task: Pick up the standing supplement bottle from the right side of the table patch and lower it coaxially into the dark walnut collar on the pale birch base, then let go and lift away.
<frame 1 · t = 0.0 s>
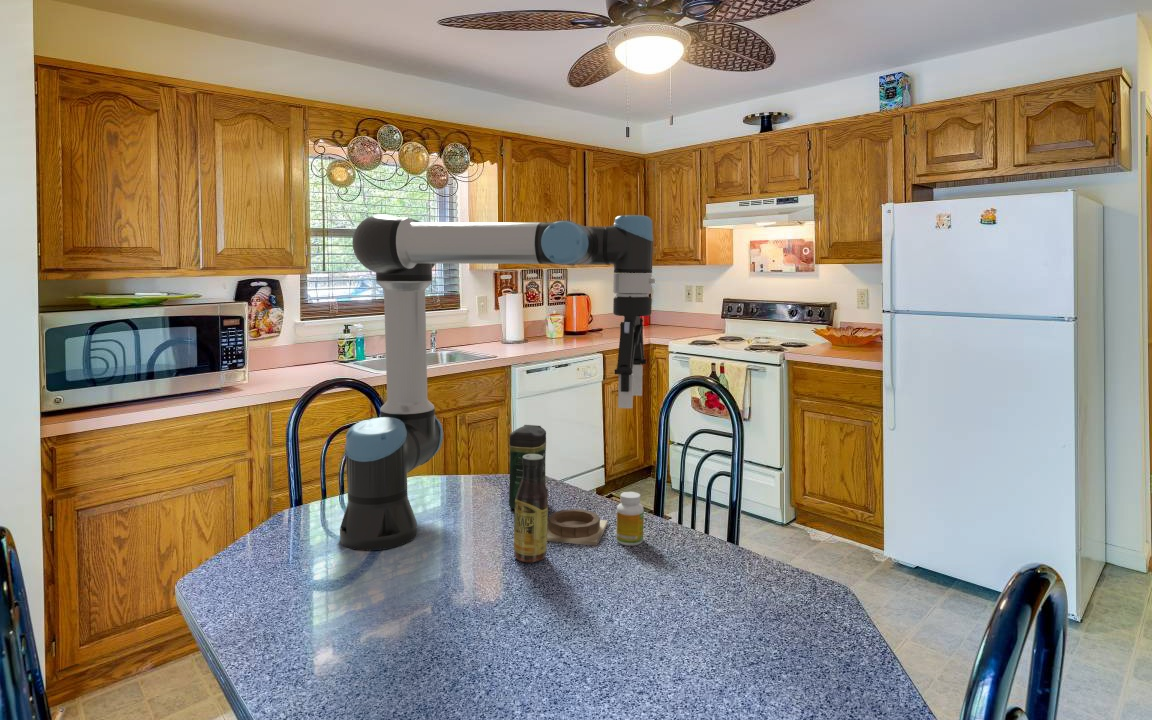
hand: (630, 401, 138), 28 cm above the table, tool pointing down, fingers open, 13 cm apart
sauce bottle: (530, 558, 130), on the table
supplement bottle: (629, 542, 139), on the table
coffee jar: (528, 506, 159), on the table
collar: (574, 531, 143), on the table
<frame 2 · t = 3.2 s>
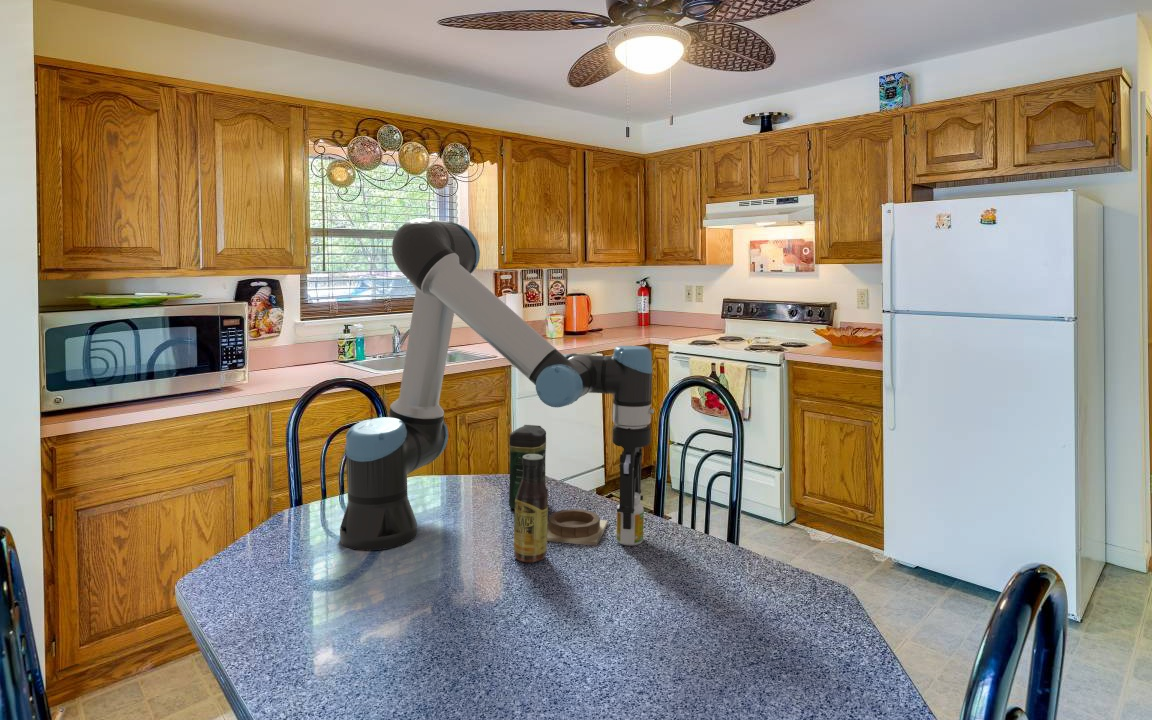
hand: (629, 537, 138), 1 cm above the table, tool pointing down, fingers closed on supplement bottle, 5 cm apart
supplement bottle: (629, 541, 139), on the table, touching gripper
everything else where it was.
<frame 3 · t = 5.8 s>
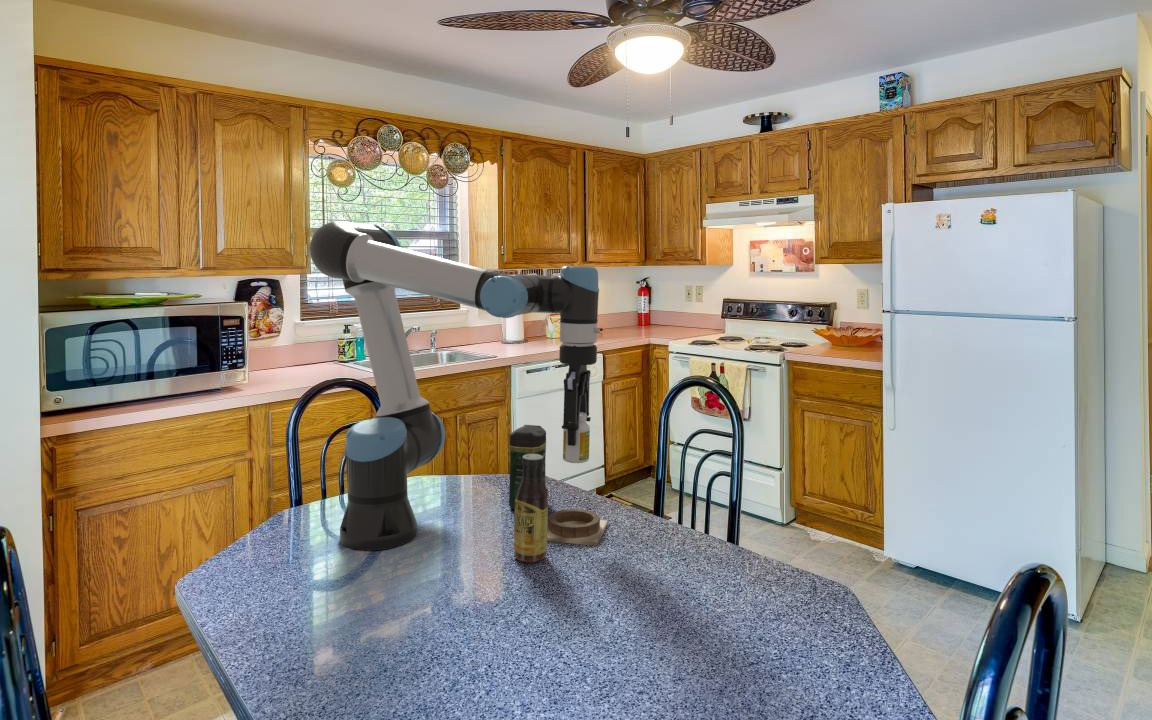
hand: (575, 456, 141), 16 cm above the table, tool pointing down, fingers closed on supplement bottle, 5 cm apart
supplement bottle: (575, 460, 141), point 15 cm above the table, touching gripper
everything else where it was.
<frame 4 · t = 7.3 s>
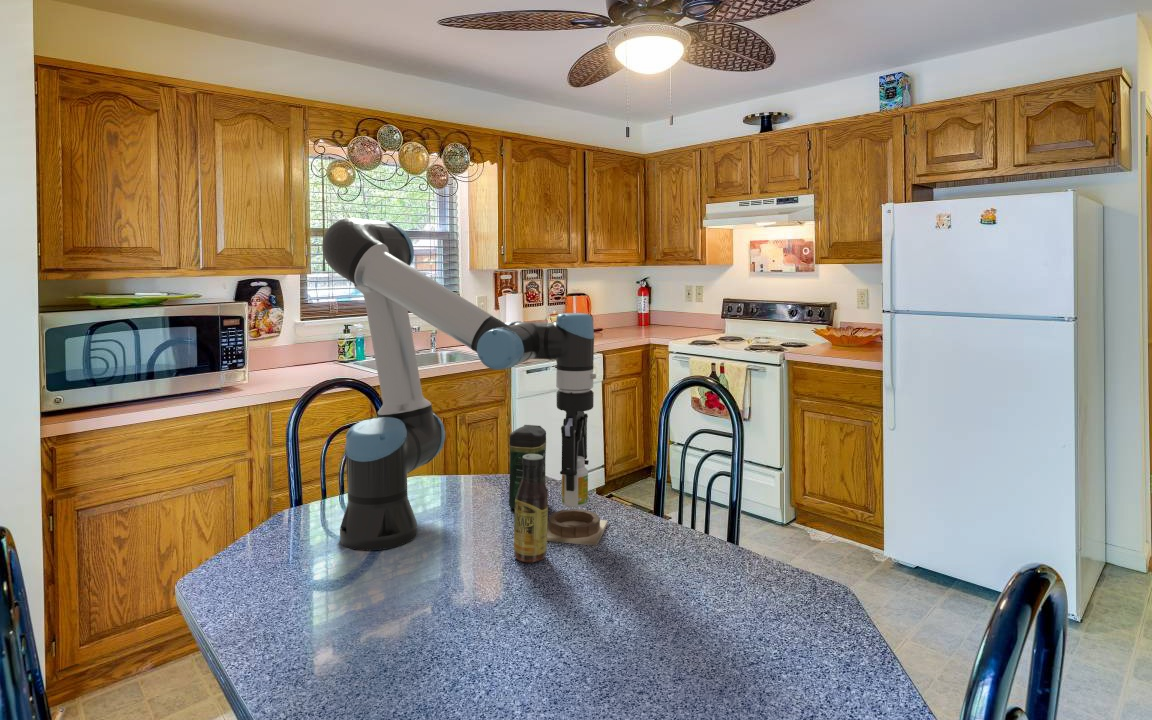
hand: (574, 499, 142), 7 cm above the table, tool pointing down, fingers closed on supplement bottle, 5 cm apart
supplement bottle: (574, 504, 142), point 6 cm above the table, touching gripper
everything else where it was.
when the fingers open (4 cm above the table, at t = 8.5 s): supplement bottle drops 2 cm, resting on collar.
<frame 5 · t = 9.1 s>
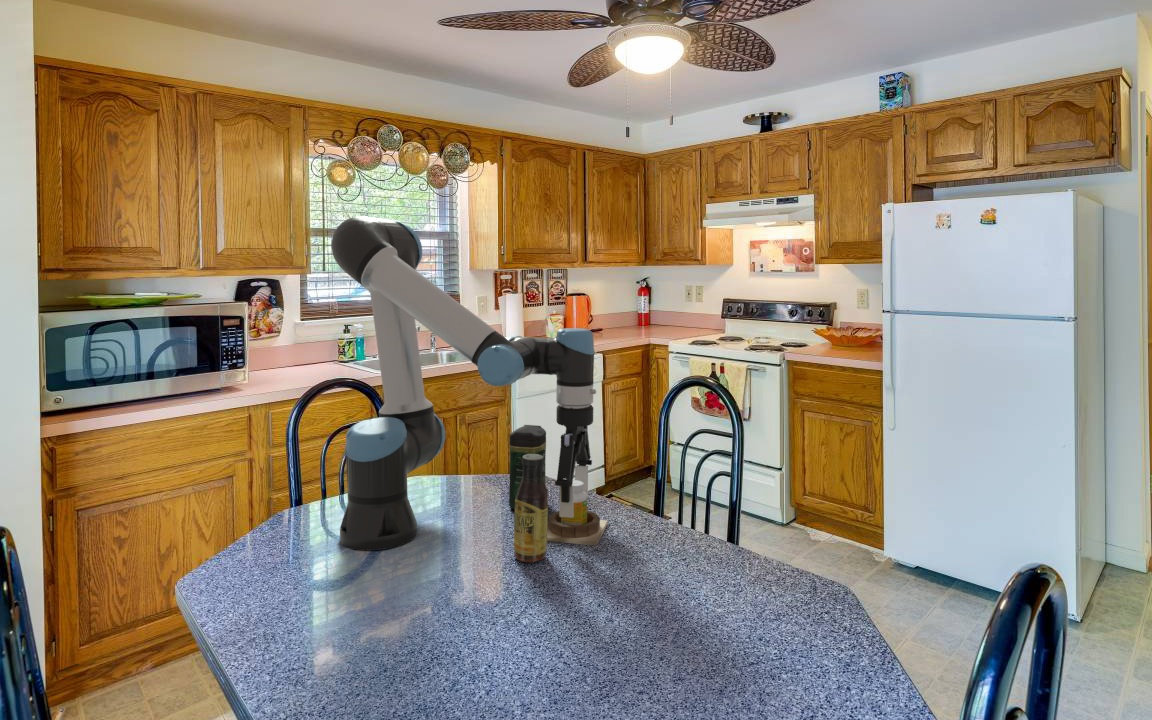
hand: (574, 505, 142), 6 cm above the table, tool pointing down, fingers open, 13 cm apart
supplement bottle: (574, 528, 143), point 1 cm above the table, touching collar
everything else where it was.
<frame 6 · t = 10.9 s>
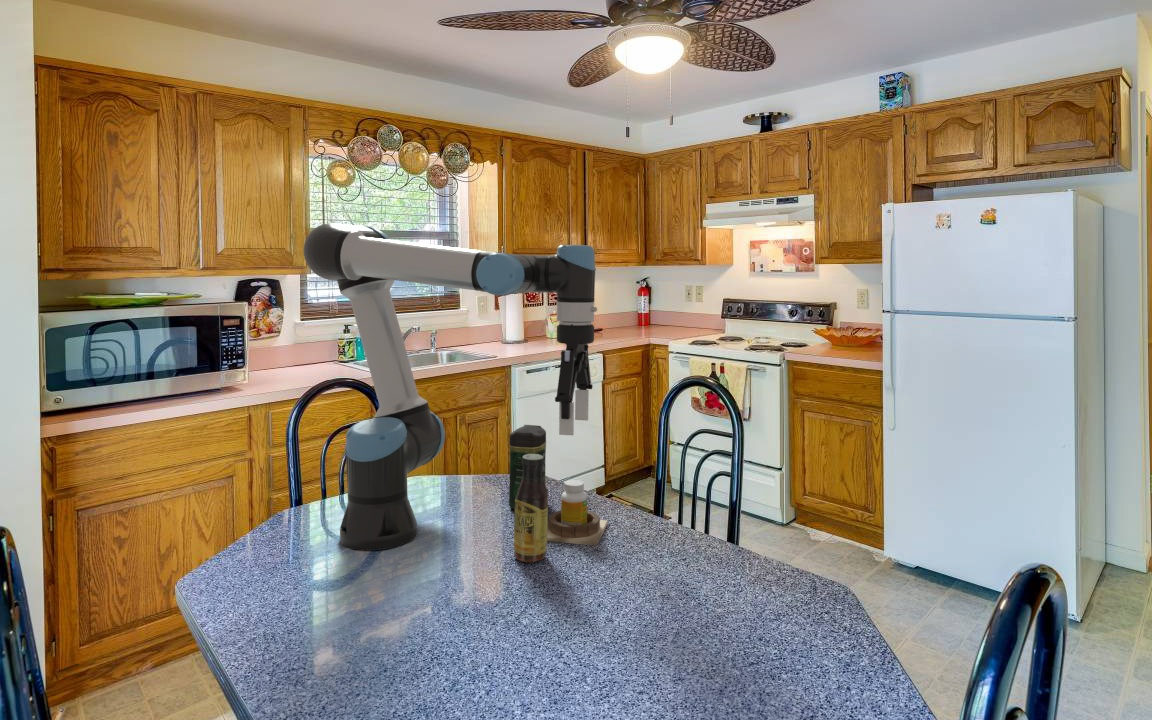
hand: (574, 427, 140), 22 cm above the table, tool pointing down, fingers open, 13 cm apart
nothing on the table moved.
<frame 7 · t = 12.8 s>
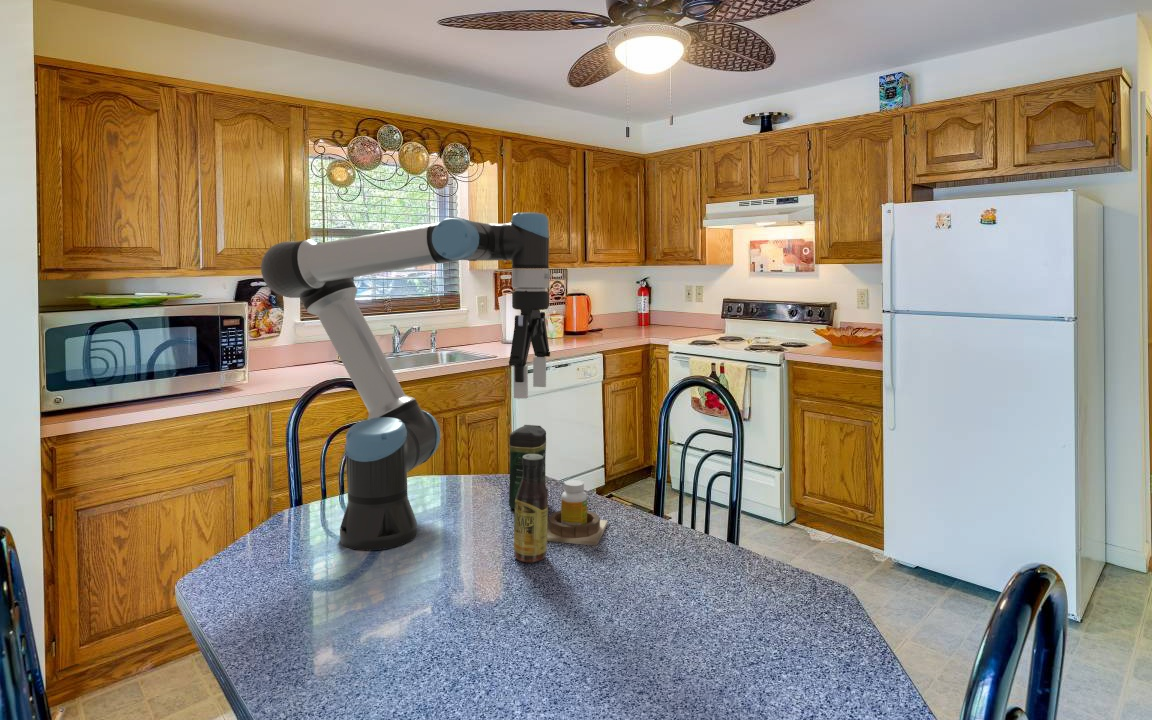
hand: (530, 392, 143), 29 cm above the table, tool pointing down, fingers open, 13 cm apart
nothing on the table moved.
at the end: supplement bottle 0.1 cm off-centre on the collar, point 0.6 cm above the collar's base; supplement bottle tilted 0°; the gripper is holding nothing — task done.
